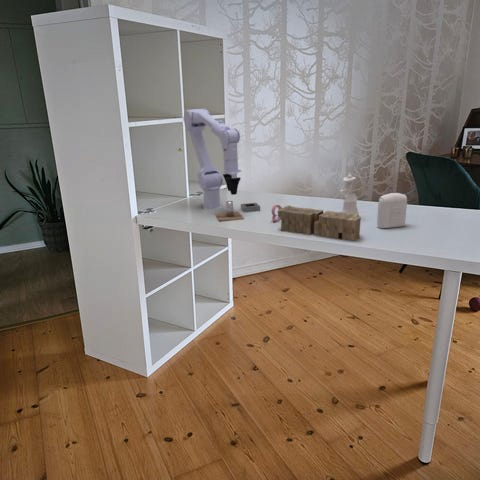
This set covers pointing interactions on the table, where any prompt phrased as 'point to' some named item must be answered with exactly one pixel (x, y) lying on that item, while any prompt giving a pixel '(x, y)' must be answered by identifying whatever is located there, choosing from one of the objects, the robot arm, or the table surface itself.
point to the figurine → (349, 197)
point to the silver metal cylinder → (229, 208)
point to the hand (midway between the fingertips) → (232, 192)
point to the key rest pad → (224, 217)
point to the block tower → (320, 223)
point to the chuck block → (250, 207)
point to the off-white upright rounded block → (392, 210)
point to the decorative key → (274, 213)
